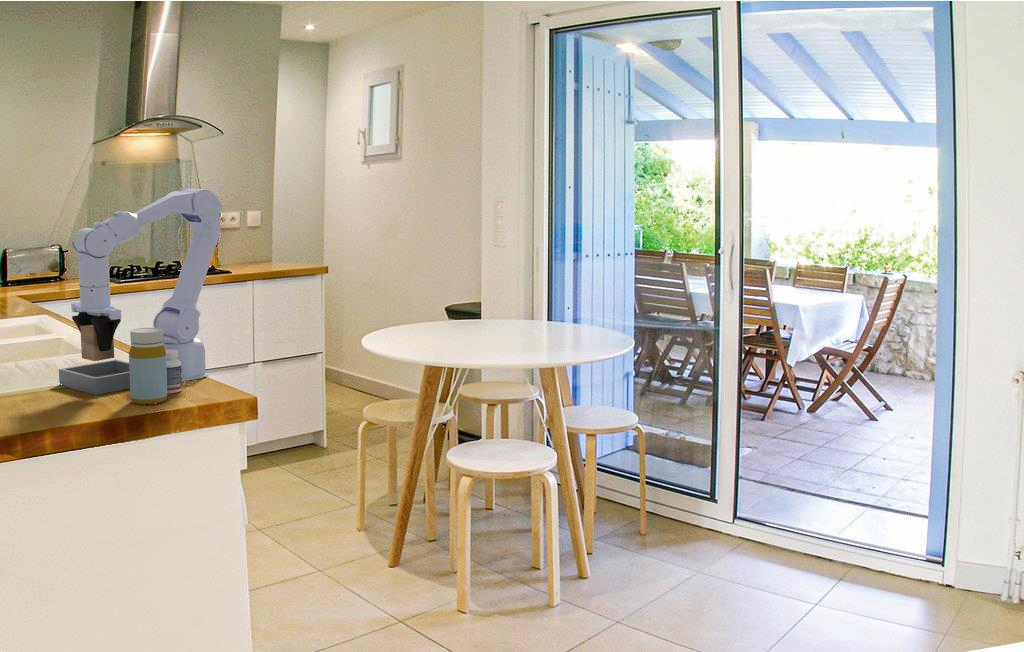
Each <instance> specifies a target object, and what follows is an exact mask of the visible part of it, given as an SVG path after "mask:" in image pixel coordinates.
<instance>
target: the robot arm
mask: <svg viewBox="0 0 1024 652" xmlns="http://www.w3.org/2000/svg"><path fill="white" fill-rule="evenodd" d="M222 208H223V204H222V202H221V201H220V199H219V197H218V195H217V194H216V192H214V191H213V190H211V189H208V188H203V189H198V188H190V187H181V188H180V189H178V190H175V191H171V192H169V193H168V194H166V195H165V196H163V197H161V198H159V199H157V200H155V201H153V202H151V203H150V204H148V205H146V206H145V207H142V208H140V209H138V210H137V211H136V212H134V213H132V212H129V211H126V210H125V211H124V210H123V211H121V210H116V211H114V212H113V213H112V214H113V216H111V217H110V218H107V219H105V220H103V221H101V222H100V221H95V222H94V223H93V227H83V228H81V229H79V230H78V231H77V232H76V234H74V236H73V240H71V246H72V248H73V250H74V251H75V252H76V253H77V259H78V281H79V282H78V283H79V285H78V286H79V302H72V303H71V312H72V313H78V314H77V315H72V316H71V318H72V321H73V322H74V324H75V325H76V327H77V328H78V330H79V331H78V332H79V334H81V332H80V326H82V325H90V324H93V326H94V329H95V332H96V335H97V342H98V347H99V350H100V351H101V352H103V351H109V350H110V349H111V345H112V341H113V338H114V336H115V333H116V330H117V328H118V327H119V325H120V323H121V321H122V320H121V319H122V309H120V308H117V307H114V306H112V304H111V287H110V286H111V283H110V265H109V264H110V260H109V255H110V254H111V253H112V252H113V250H114V248H116V247H118V246H120V245H121V244H125V243H126V242H128V241H130V240H132V239H134V238H136V237H138V236H139V235H140V234H141V232H142V229H143V227H145V226H147V225H150V224H152V223H155V222H156V221H159V220H161V219H163V218H165V217H167V216H170V215H173V214H179V215H180V216H181V217H182V218H183V219H184V220H185V221H186V222H187V223H188V224H189V226H190V227H191V229H192V231H193V235H192V239H191V241H190V245H189V247H188V249H187V252H186V256H185V258H184V261H183V263H182V267H181V270H180V273H179V276H178V278H177V281H176V283H175V287H174V290H173V293H172V295H171V296H170V297H169V298H168V299H166V301H165V302H163V305H162V307H161V309H160V310H159V312H158V313H156V315H155V316H154V318H153V323H152V325H153V327H152V328H160V329H163V346H164V349H165V350H168V349H172V350H177V351H178V358H177V360H179V361H181V364H182V383H183V382H187V381H194V380H196V379H198V380H199V379H202V378H208V377H209V375H208V374H207V373H206V348H205V345H204V343H203V341H201V339H199V338H196V337H197V335H198V334H199V331H200V324H199V322H200V321H199V319H200V316H201V311H200V309H199V306H198V304H197V302H198V300H199V297H200V294H201V291H202V290H203V289H202V288H203V285H204V283H205V279H206V277H207V274H208V270H209V268H210V265H211V262H212V260H213V256H214V253H215V250H216V247H217V244H218V242H219V239H220V237H221V229H222V228H221V215H220V214H221V211H222Z"/></svg>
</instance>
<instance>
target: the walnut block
mask: <svg viewBox="0 0 1024 652" xmlns="http://www.w3.org/2000/svg"><path fill="white" fill-rule="evenodd" d="M80 332H81V333H80ZM79 333H80V343H81V344H80V345H81V359H84V360H88V361H92V362H99V361H103V360H109V359H115V343H114V342H115V341H114V337H113V341H112V345H111V349H110V350H109V351H103V352H101V351H100V350H99V347H98V342H97V335H96V332H95V329H94V326H93V324H90V325H82V326H80V331H79Z"/></svg>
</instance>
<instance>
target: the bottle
mask: <svg viewBox="0 0 1024 652" xmlns="http://www.w3.org/2000/svg"><path fill="white" fill-rule="evenodd" d="M128 362H129V372H130V388H129V391H130V393H129V394H130V395H129V396H130V401H131V402H132V403H133V404H135V405H138V406H139V405H140V406H147V405H146V404H154V405H156V404H155V403H159V404H161V403H160V402H162V403H164V402H165V401H166V400H167V398H168V393H167V367H166V351H165V349H164V346H163V329H160V328H154V327H139V328H134V329H130V348H129V352H128ZM163 401H164V402H163Z"/></svg>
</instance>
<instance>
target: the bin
mask: <svg viewBox="0 0 1024 652" xmlns="http://www.w3.org/2000/svg"><path fill="white" fill-rule="evenodd" d="M58 380H59V381H58V382H59V383H60V384H62V385H63V387H66V388H70V389H74V390H78V391H80V392H84V393H87V394H90V395H96V396H99V395H103V394H108V393H113V392H117V391H122V390H127V389H130V372H129V361H128V362H127V361H125V360H120V359H111V360H106V361H101V362H99V361H97V362H93V363H87V364H82V365H75V366H70V367H65V368H64V367H63V368H59V369H58ZM59 383H58V384H59ZM60 384H59V385H60ZM62 385H61V386H62Z"/></svg>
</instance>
